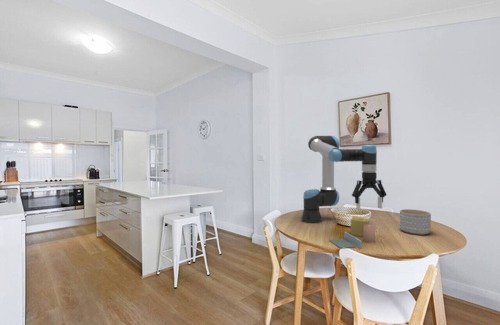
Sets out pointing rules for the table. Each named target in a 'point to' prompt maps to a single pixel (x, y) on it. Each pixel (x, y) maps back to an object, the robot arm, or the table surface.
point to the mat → (342, 243)
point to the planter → (415, 221)
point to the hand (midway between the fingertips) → (369, 208)
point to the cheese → (358, 225)
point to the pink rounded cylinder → (369, 233)
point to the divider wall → (353, 240)
